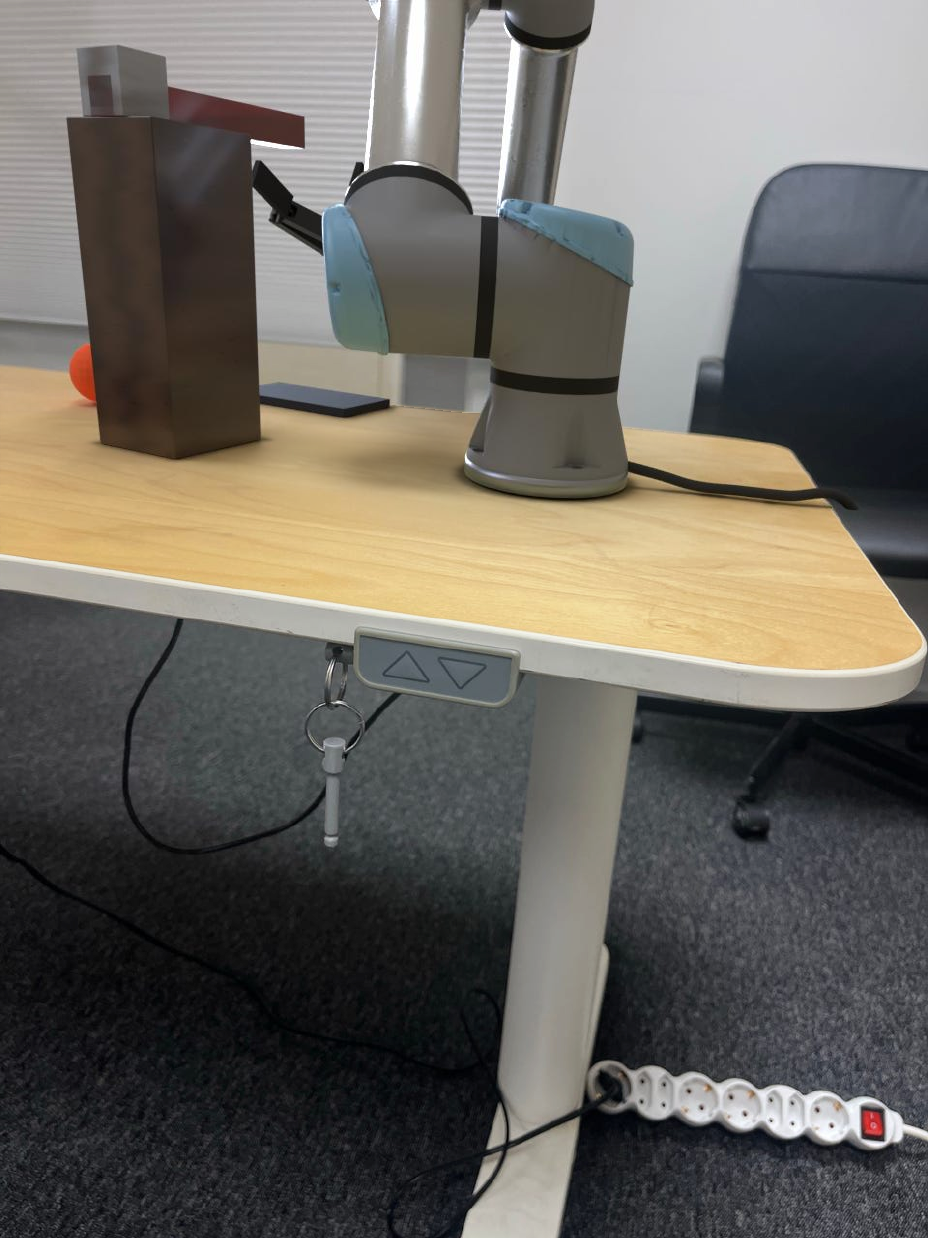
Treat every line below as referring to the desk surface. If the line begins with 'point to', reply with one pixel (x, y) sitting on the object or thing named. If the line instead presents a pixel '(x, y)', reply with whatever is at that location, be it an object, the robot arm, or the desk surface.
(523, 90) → the robot arm
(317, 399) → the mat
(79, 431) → the desk surface
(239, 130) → the hammer
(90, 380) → the clementine
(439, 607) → the desk surface
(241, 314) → the tall post
